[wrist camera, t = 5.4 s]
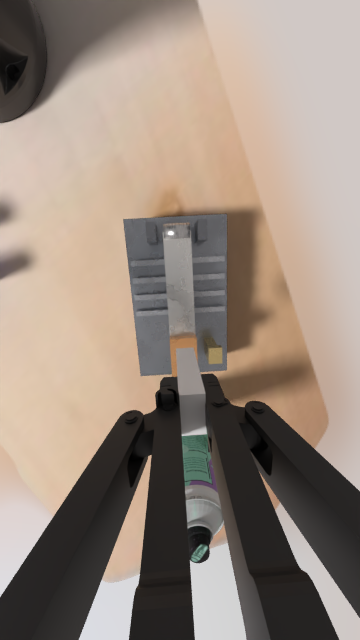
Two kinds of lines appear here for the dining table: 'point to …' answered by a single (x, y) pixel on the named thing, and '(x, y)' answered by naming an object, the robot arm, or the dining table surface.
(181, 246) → the bar
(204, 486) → the spray can
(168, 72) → the dining table surface
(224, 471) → the robot arm
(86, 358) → the dining table surface
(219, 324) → the finned block
